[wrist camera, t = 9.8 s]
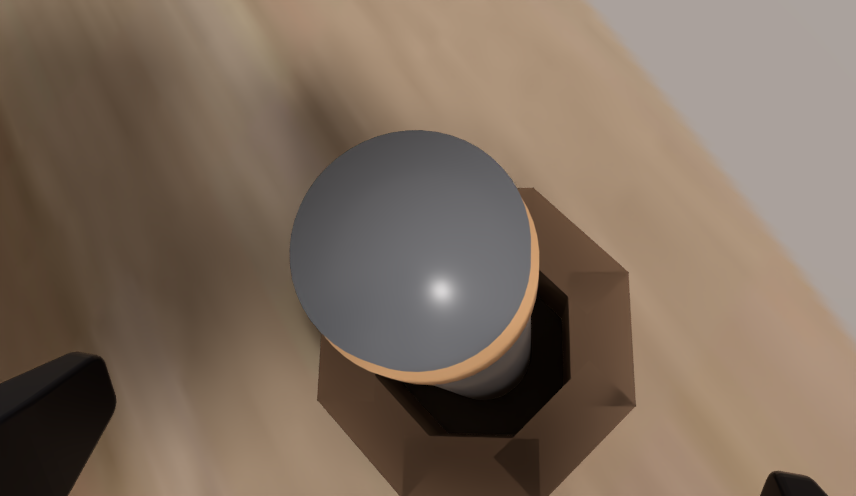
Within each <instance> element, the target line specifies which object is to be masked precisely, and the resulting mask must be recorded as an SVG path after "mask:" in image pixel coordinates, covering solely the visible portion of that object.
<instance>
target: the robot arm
mask: <svg viewBox="0 0 856 496" xmlns="http://www.w3.org/2000/svg"><path fill="white" fill-rule="evenodd" d="M115 407H116V395H115V392H114V389H113V385H112V382H111V379H110V376H109V373H108V369H107V366H106V363H105V361H104V360H103V359H102V358H101V357H100V356H98V355H93V354H87V353H81V352H72V353H68V354H66V355H64V356H61V357H59V358H57V359H55V360H52V361H50V362H48V363H46V364H43V365H41V366H39V367H37V368H34V369H32V370H30V371H28V372H25V373H23V374H21V375H19V376H16V377H14V378H12V379H10V380H7V381H5V382H3V383H1V384H0V496H68V495H69V493H70V491H71V490H72V488H73V486H74V484H75V482H76V480H77V479H78V477H79V475H80V473H81V471H82V470H83V468H84V466H85V464H86V462H87V461H88V459H89V457H90V455H91V453H92V452H93V450H94V448H95V446H96V444H97V443H98V441H99V439H100V437H101V435H102V434H103V432H104V430H105V428H106V426H107V425H108V423H109V421H110V419H111V417H112V415H113V413H114V410H115ZM760 496H828V495H827V494H826V493H825V492H824V491H823V490H822V488H821V487H820V486H819V485H818V484H817V483H816V482H815V481H814V480H813V479H811V478H810V477H808V476H805V475H800V474H794V473H788V472H782V471H773V472H771V473H770V474H769V476H768V477H767V479H766V482H765V485H764V487H763V490H762V492H761V495H760Z"/></svg>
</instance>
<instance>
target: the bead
mask: <svg viewBox="0 0 856 496" xmlns="http://www.w3.org/2000/svg"><path fill="white" fill-rule="evenodd" d="M517 190H518V191H519V193H520V196H521V198H522V199H523V201H524V203H525V204H526V206H527V208H528V210H529V213H530V215H531V217H532V220H533V222H534V226H535V230H536V233H537V238H538V246H539V279H538V289H537V296H538V297H539V298H540V299H541V300H543V301H544V302H545V303H546V304H547V305H548V306H549V307H550V308H551V309H552V310H553V311H554V312H555V313H556V314H557V315H558V316H559V317H560V318H562V346H563V380H564V386H563V387H562V388H561V389H560V390H559V391H558V392H557V393H556V394H555V395H554V396H553V398H552V399H551V400H550V401H549V402H548V403H547V404H546V405H545V406H544V407H543V408H542V409H541V410H540V411H539V412H538V413H537V414H536V415H535V416H534V417H533V418H532V419H531V420H530V421H529V422H528V423H527V424H526V425H525V426H524V427H523V428H522V429H521V430H520V431H519V432H518V433H517V434H516V435H497V434H459V433H447V432H446V431H445V430H444V429H443V428H442V426H441V425H440V424H439V423H438V422H437V421H436V420H435V419H434V418H433V417H432V416H431V414H430V413H429V412H428V411H427V410H426V409H425V408H424V407H423V406H422V405H421V404H420V402H419V401H418V400H417V399H416V398H415V397H414V396H413V395H412V394H411V393H410V392H409V390H408V389H407V388H406V387H405V386H404V385H403V384H402V382H401V381H398V380H395V379H391V378H388V377H385V376H382V375H379V374H376V373H373V372H370V371H368V370H366V369H364V368H362V367H360V366H358V365H356V364H355V363H353V362H352V361H350V360H349V359H347V358H346V357H344V356H343V355H342V354H341V353H340V352H339V351H338V350H337V349H336V348H334V347H333V346H332V345H331V343H330V342H329V341H328V340H327V339H326V337H325V336H324V335H323V334H322V333H321V348H320V363H319V379H318V395H317V401H319V402H320V404H321V405H322V406H323V407H324V408H325V409H326V411H327V412H328V413H329V414H330V415H331V416H332V418H333V419H334V420H335V421H336V422H337V423H338V425H339V426H340V427H341V428H342V429H343V430H344V432H345V433H346V434H347V435H348V436H349V437H350V439H351V440H352V441H353V442H354V443H355V444H356V445H357V447H358V448H359V449H360V450H361V451H362V452H363V454H364V455H365V456H366V457H367V458H368V459H369V461H370V462H371V463H372V464H373V465H374V466H375V468H376V469H377V470H378V471H379V472H380V473H381V475H382V476H383V477H384V478H385V479H386V480H387V482H388V483H389V484H390V485H391V486H392V487H393V489H394V490H395V491H396V492H397V493H398V494H399V496H549V495H550V494H551V493H552V492H553V491H554V490H555V489H556V488H557V487H558V486H559V485H560V483H561V482H562V481H563V480H564V479H565V478H566V477H567V476H568V475H569V474H570V473H571V472H572V471H573V470H574V469H575V468H576V467H577V466H578V465H579V464H580V463H581V462H582V461H583V460H584V459H585V458H586V457H587V456H588V455H589V454H590V453H591V452H592V451H593V450H594V448H595V447H596V446H597V445H598V444H599V443H600V442H601V441H602V440H603V439H604V438H605V437H606V436H607V435H608V434H609V433H610V432H611V431H612V430H613V429H614V428H615V427H616V426H617V425H618V424H619V423H620V422H621V421H622V420H623V419H624V418H625V417H626V416H627V414H628V413H629V412H630V411H631V410H632V409H633V408H634V407H636V401H635V383H634V365H633V347H632V329H631V311H630V293H629V275H628V273H629V272H628V271H626V270H625V269H624V268H623V267H622V266H621V265H620V264H619V263H617V262H616V261H615V260H614V259H613V258H612V257H611V256H610V255H608V254H607V253H606V252H605V251H604V250H603V249H602V248H601V247H599V246H598V245H597V244H596V243H595V242H594V241H593V240H592V239H590V238H589V237H588V236H587V235H586V234H585V233H584V232H583V231H581V230H580V229H579V228H578V227H577V226H576V225H575V224H574V223H572V222H571V221H570V220H569V219H568V218H567V217H566V216H564V215H563V214H562V213H561V212H560V211H559V210H558V209H557V208H555V207H554V206H553V205H552V204H551V203H550V202H549V201H548V200H546V199H545V198H544V197H543V196H542V195H541V194H540V193H539V192H537V191H536V190H535V189H534V188H517Z"/></svg>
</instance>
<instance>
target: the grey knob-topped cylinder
mask: <svg viewBox="0 0 856 496" xmlns="http://www.w3.org/2000/svg"><path fill="white" fill-rule="evenodd" d="M290 268H291V274H292V280H293V283H294V287H295V290H296V294H297V296H298V298H299V300H300V303H301V305H302V307H303V309H304V311H305V312H306V314H307V315H308V317H309V319H310V320H311V321H312V323H313V324H314V325H315V326H316V327H317V329H318V330H319V331H320V332H321V333H322V334H323V335H324V336H325V337H326V339H327V340H328V341H329V342H330V343H331V345H332V346H333V347H334V348H336V349H337V350H338V351H339V352H340V353H341V354H342V355H343V356H344V357H346V358H347V359H349V360H350V361H352V362H353V363H355V364H356V365H358V366H360V367H362V368H364V369H366V370H368V371H370V372H373V373H376V374H379V375H382V376H385V377H388V378H391V379H395V380H398V381H401V382H407V383H412V384H421V385H434V386H437V387H439V388H442V389H445V390H448V391H451V392H453V393H456V394H459V395H462V396H464V397H468V398H471V399H476V400H490V399H495V398H498V397H501V396H503V395H505V394H507V393H509V392H510V391H512V390H513V389H514V388H515V387H516V386H517V385H518V384H519V383H520V382H521V380H522V379H523V377H524V376H525V374H526V372H527V370H528V367H529V363H530V358H531V314H532V311H533V308H534V304H535V301H536V296H537V289H538V279H539V246H538V238H537V233H536V230H535V226H534V222H533V220H532V217H531V215H530V213H529V210H528V208H527V206H526V204H525V203H524V201H523V199H522V198H521V196H520V193H519V191H518V190H517V188H516V186H515V184H514V183H513V181H512V179H511V178H510V177H509V176H508V174H507V173H506V172H505V171H504V169H503V168H502V167H501V166H500V165H499V164H498V163H497V162H496V161H495V160H494V159H493V158H492V157H491V156H489V155H488V154H486V153H485V152H484V151H482V150H481V149H479V148H478V147H476V146H474V145H472V144H470V143H469V142H467V141H465V140H462V139H459V138H457V137H454V136H451V135H447V134H443V133H439V132H432V131H423V130H411V131H400V132H393V133H388V134H385V135H381V136H377V137H375V138H372V139H369V140H367V141H364V142H362V143H360V144H358V145H357V146H355V147H353V148H351V149H349V150H348V151H346V152H345V153H344V154H342V155H341V156H339V157H338V158H337V159H335V160H334V161H333V162H332V163H331V164H330V165H329V166H328V167H327V168H326V169H325V170H324V171H323V172H322V173H321V174H320V175H319V176H318V178H317V179H316V180H315V181H314V183H313V184H312V186H311V187H310V189H309V190H308V192H307V193H306V195H305V197H304V199H303V201H302V203H301V205H300V207H299V210H298V213H297V215H296V218H295V221H294V225H293V229H292V234H291V242H290Z"/></svg>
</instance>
